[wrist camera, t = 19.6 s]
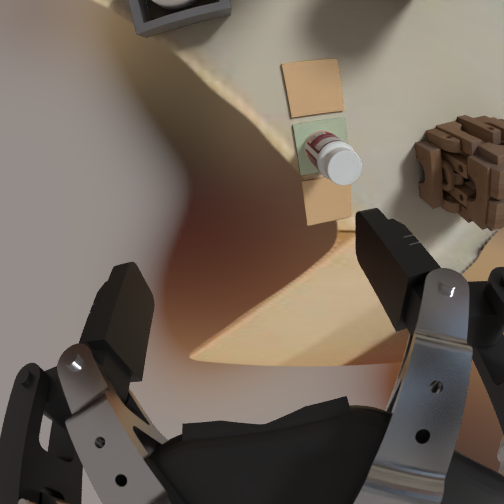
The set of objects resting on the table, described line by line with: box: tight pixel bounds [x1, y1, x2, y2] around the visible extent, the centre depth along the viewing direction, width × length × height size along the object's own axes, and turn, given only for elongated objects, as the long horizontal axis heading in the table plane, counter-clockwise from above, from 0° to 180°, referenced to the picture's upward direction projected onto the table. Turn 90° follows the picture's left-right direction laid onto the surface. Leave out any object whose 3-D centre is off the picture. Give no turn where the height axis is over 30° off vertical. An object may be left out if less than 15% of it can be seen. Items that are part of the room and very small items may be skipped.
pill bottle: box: [305, 130, 362, 185], centre depth 32 cm, size 5×5×8 cm
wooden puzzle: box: [415, 115, 504, 231], centre depth 30 cm, size 22×15×19 cm, turn 111°
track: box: [281, 59, 352, 226], centre depth 36 cm, size 23×7×1 cm, turn 12°
